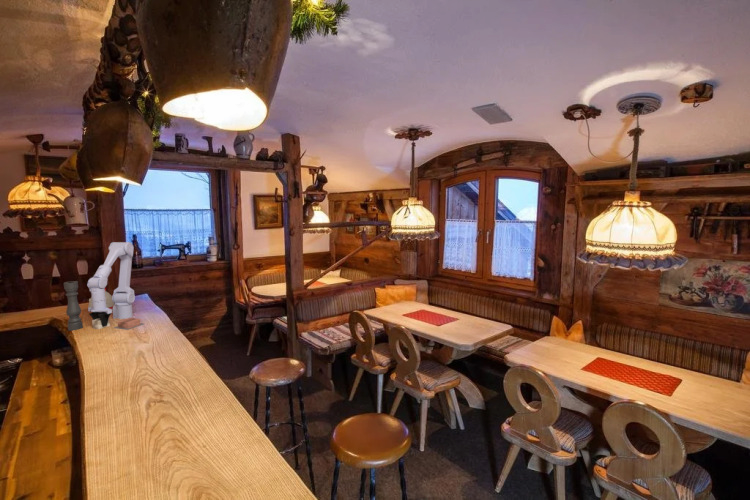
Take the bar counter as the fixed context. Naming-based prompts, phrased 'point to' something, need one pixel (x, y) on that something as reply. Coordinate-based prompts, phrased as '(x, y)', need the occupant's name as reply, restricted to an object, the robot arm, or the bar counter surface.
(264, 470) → the bar counter surface
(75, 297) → the candle holder
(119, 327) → the base plate
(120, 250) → the robot arm
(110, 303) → the white and red dome
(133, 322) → the terracotta brick
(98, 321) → the ash brick
